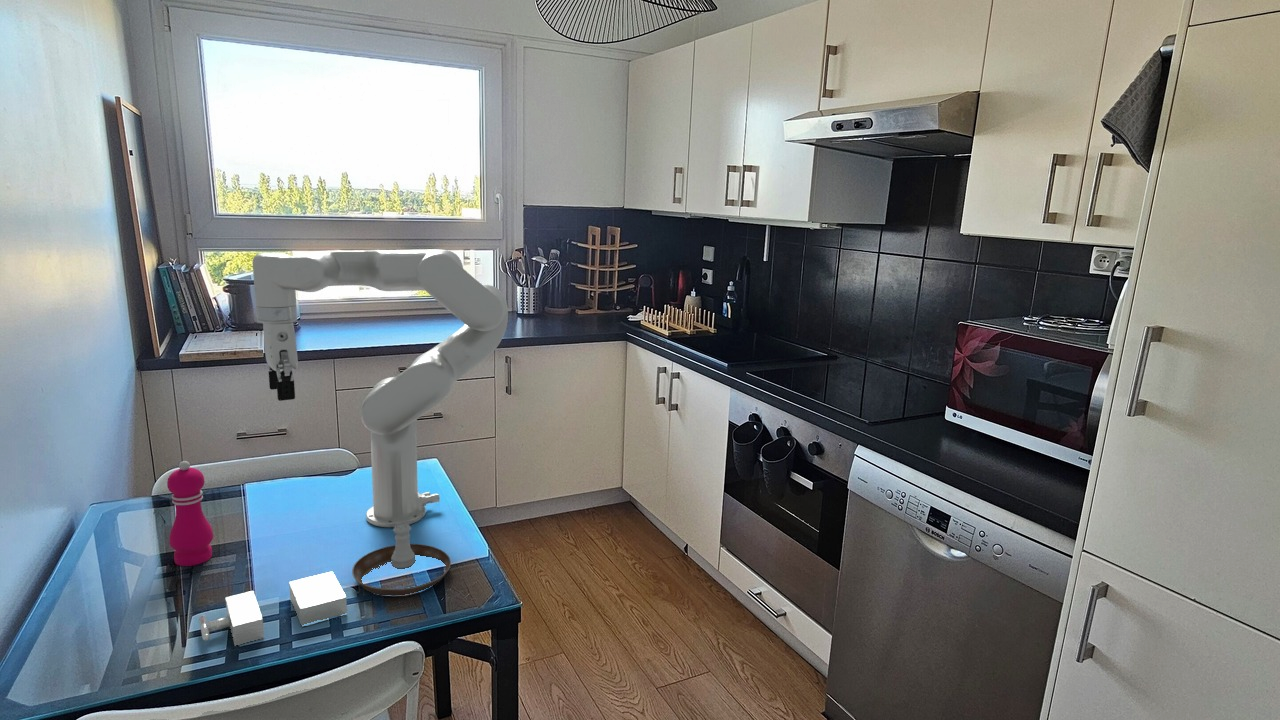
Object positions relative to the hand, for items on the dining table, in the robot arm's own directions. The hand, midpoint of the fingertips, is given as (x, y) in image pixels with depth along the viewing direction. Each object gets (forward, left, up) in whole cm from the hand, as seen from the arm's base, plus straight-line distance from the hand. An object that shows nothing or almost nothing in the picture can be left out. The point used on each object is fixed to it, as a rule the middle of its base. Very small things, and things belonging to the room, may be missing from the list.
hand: (282, 394), depth 154 cm
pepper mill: (+19, +10, -28) cm, 36 cm away
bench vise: (+9, +40, -28) cm, 50 cm away
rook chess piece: (-13, +37, -26) cm, 47 cm away
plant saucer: (-13, +37, -29) cm, 49 cm away
